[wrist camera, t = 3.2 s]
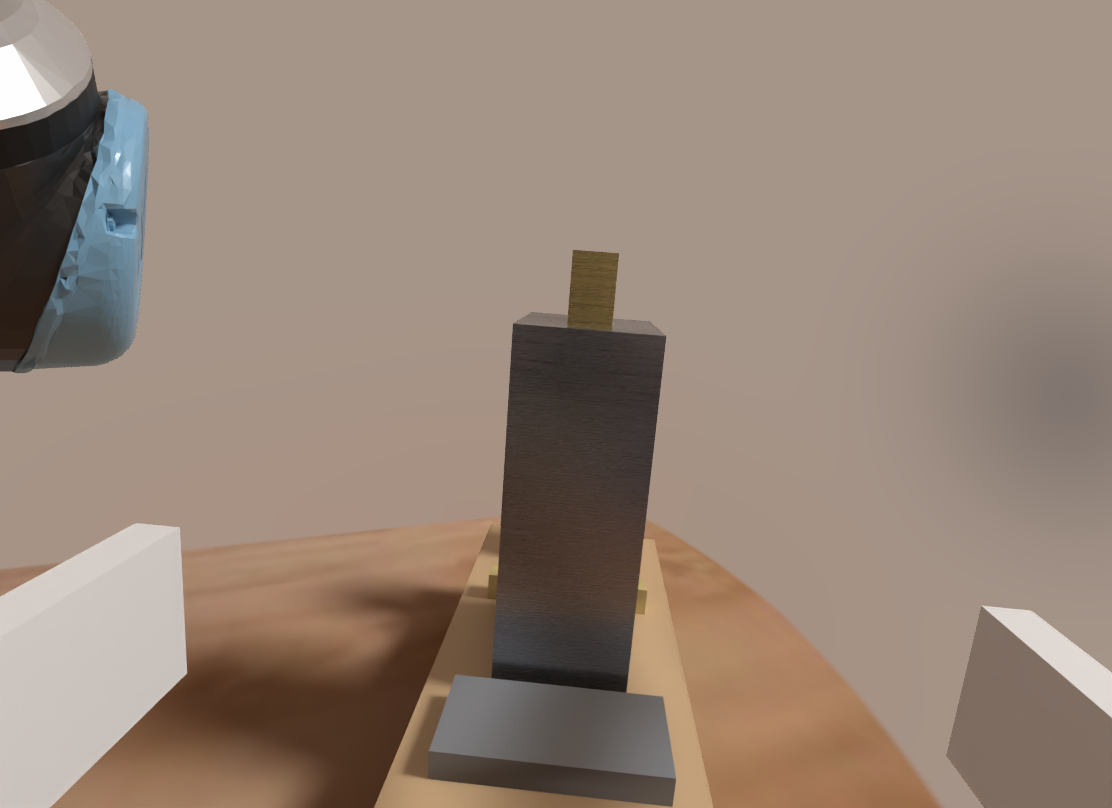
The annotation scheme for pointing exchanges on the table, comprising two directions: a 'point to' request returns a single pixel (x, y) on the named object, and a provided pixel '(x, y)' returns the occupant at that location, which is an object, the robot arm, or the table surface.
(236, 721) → the table surface
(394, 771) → the body
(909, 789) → the table surface
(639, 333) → the grey metal pillar
